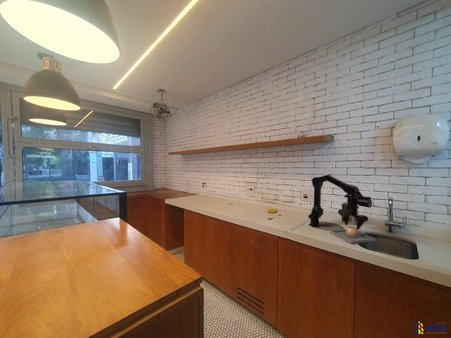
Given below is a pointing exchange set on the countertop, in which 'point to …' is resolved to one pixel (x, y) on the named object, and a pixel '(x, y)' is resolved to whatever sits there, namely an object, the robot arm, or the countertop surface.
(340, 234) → the tray
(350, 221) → the coffee box
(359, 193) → the robot arm
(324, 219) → the countertop surface
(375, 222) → the countertop surface
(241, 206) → the countertop surface
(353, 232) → the tan rounded cone
